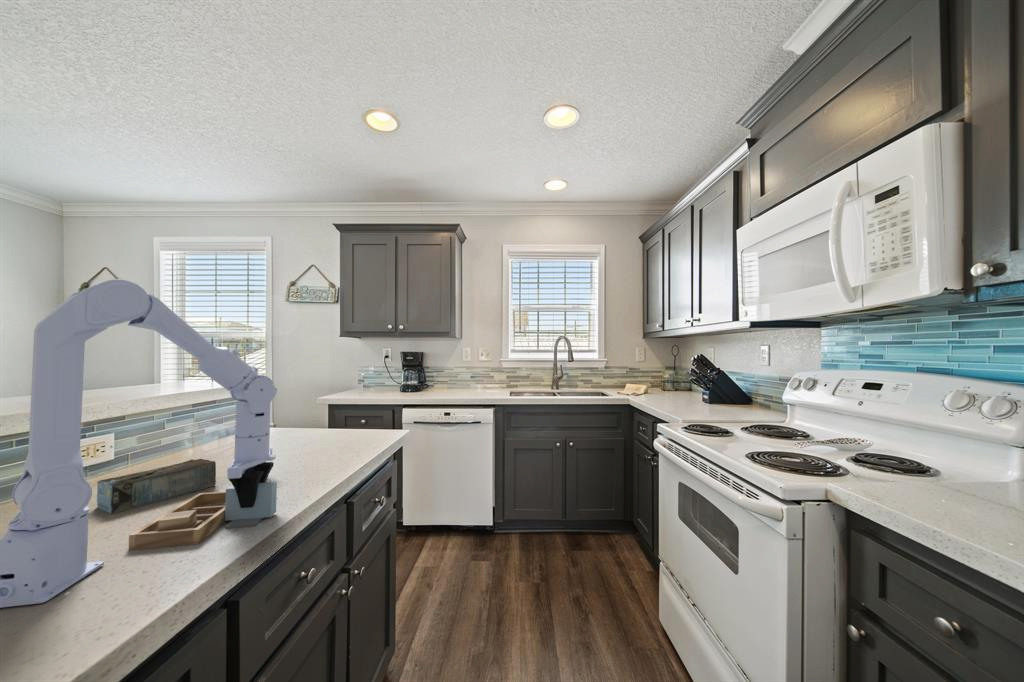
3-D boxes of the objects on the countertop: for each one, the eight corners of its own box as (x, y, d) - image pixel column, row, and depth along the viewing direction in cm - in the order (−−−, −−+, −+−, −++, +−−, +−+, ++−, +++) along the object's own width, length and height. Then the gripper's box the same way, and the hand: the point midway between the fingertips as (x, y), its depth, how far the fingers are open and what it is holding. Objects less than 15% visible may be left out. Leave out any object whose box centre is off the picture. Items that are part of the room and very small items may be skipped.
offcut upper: (188, 528, 66) (188, 516, 66) (158, 532, 65) (158, 520, 65) (196, 520, 69) (197, 509, 69) (167, 524, 68) (168, 513, 68)
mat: (255, 525, 71) (255, 523, 71) (225, 528, 70) (225, 526, 70) (272, 509, 79) (272, 507, 79) (245, 511, 78) (245, 509, 78)
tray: (198, 543, 65) (198, 529, 65) (128, 550, 62) (129, 535, 63) (250, 500, 84) (251, 489, 84) (198, 504, 81) (199, 493, 82)
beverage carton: (93, 508, 80) (95, 477, 80) (201, 481, 97) (202, 455, 97) (109, 515, 76) (111, 482, 77) (218, 486, 93) (219, 459, 94)
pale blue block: (271, 516, 74) (271, 486, 75) (224, 520, 73) (225, 489, 73) (276, 511, 77) (276, 481, 77) (231, 515, 75) (232, 484, 75)
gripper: (259, 442, 69) (257, 517, 69) (288, 427, 83) (286, 489, 83) (215, 444, 68) (212, 521, 67) (252, 428, 82) (250, 492, 81)
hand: (250, 504), depth 75 cm, fingers closed on pale blue block, 2 cm apart
